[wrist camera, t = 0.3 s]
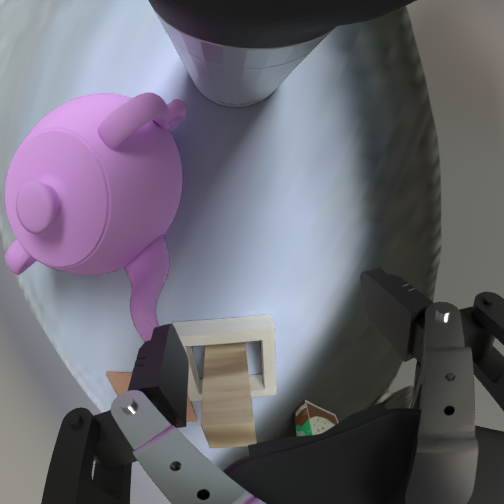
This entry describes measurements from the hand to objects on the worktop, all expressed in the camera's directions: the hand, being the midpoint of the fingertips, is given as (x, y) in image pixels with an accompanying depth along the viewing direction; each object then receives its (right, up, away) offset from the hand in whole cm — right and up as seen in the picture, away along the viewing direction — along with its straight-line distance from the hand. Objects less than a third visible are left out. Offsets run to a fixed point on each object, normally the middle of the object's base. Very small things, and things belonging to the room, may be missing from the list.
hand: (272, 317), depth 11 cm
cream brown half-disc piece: (+9, -26, +32) cm, 42 cm away
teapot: (-14, +9, +16) cm, 23 cm away
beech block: (-4, -11, +24) cm, 27 cm away
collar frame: (-4, -11, +24) cm, 27 cm away
